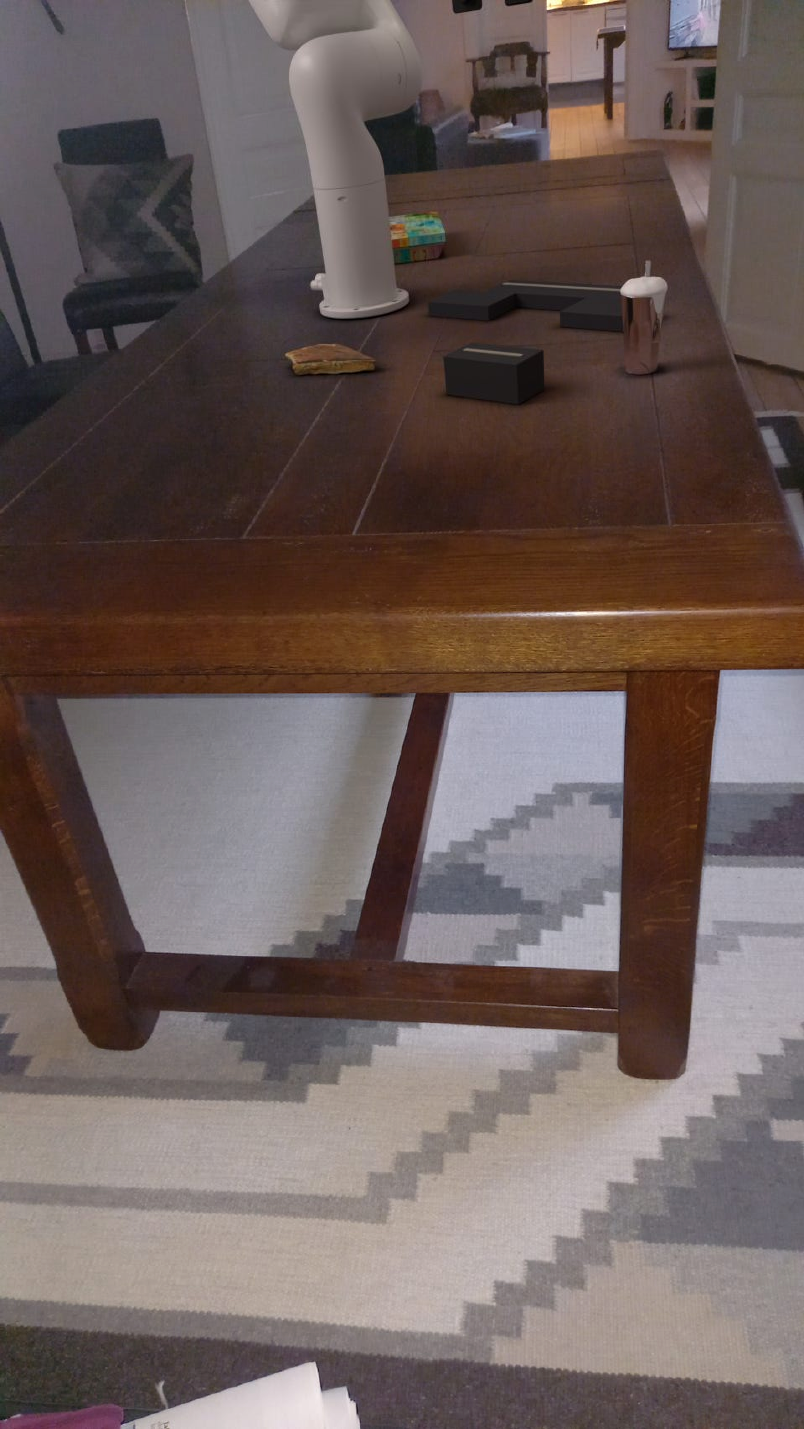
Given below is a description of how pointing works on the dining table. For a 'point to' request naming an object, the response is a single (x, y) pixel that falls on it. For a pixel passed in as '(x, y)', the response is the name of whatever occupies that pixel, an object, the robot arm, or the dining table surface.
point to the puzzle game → (417, 237)
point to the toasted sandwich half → (329, 359)
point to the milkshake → (642, 321)
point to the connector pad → (494, 372)
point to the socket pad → (537, 303)
